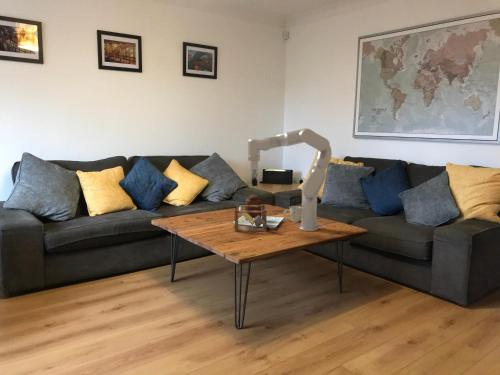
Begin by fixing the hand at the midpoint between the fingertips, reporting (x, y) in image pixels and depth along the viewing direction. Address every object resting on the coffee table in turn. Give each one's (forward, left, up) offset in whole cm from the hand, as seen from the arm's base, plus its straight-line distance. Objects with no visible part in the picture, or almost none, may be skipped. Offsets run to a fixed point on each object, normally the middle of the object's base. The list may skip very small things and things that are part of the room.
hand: (254, 184), depth 270 cm
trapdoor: (+6, 0, -20) cm, 21 cm away
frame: (+3, 0, -28) cm, 28 cm away
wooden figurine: (0, -21, -29) cm, 36 cm away
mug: (-27, -18, -29) cm, 44 cm away
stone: (-1, 0, -26) cm, 26 cm away
